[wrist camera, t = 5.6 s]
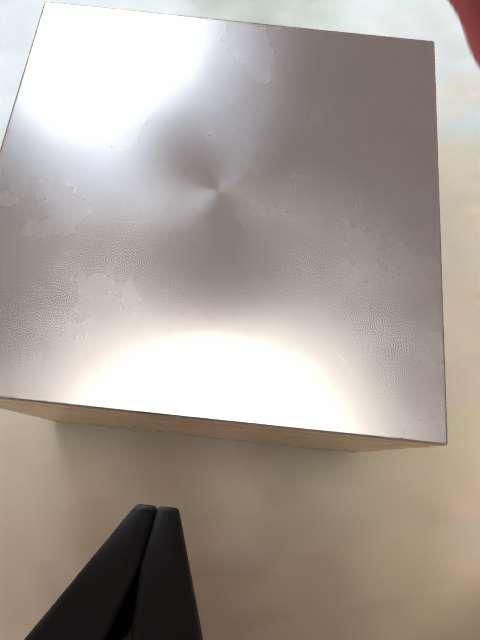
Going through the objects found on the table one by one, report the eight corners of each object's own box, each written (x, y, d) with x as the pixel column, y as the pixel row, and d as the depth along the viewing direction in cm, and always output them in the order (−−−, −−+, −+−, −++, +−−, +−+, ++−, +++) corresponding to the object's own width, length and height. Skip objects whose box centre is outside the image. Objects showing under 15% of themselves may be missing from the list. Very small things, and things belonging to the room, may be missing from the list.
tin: (105, 179, 24) (46, 43, 16) (360, 205, 24) (425, 81, 16) (52, 420, 21) (-56, 395, 13) (354, 452, 21) (434, 446, 13)
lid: (52, 21, 17) (44, 0, 16) (425, 59, 17) (435, 40, 16) (-56, 395, 13) (-74, 391, 12) (435, 447, 13) (448, 445, 12)
